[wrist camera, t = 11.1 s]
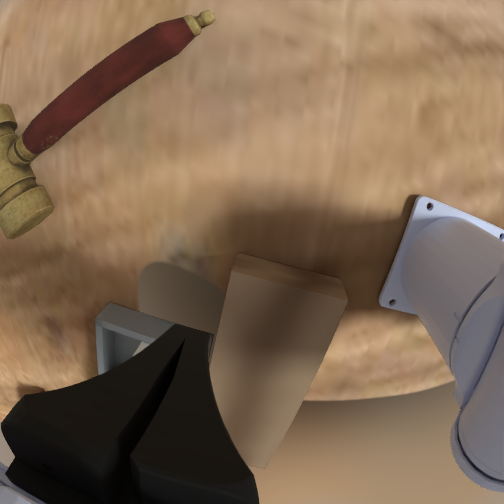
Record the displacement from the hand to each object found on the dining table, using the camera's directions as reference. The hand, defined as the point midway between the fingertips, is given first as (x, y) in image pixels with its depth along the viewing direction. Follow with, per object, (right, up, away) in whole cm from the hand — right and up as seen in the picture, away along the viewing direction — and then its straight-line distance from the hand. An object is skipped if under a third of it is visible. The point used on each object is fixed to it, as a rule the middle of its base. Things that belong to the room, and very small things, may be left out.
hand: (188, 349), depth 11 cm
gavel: (-9, +14, +8) cm, 18 cm away
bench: (+3, -6, +13) cm, 15 cm away
